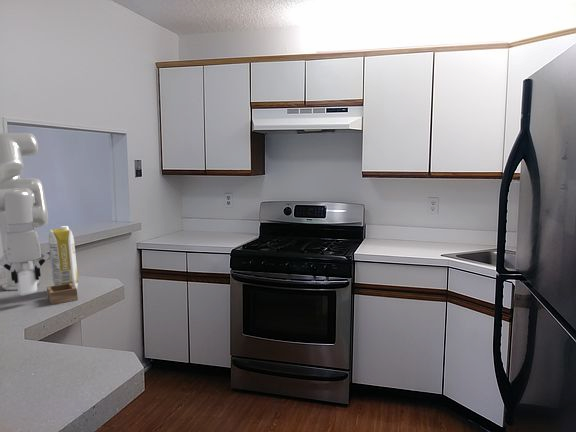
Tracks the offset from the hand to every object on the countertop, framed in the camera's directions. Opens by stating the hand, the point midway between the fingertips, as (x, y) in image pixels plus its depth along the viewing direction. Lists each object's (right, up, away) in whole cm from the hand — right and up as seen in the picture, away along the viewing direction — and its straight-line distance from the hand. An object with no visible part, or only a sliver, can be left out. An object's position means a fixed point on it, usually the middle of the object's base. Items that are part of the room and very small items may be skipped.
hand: (26, 280), depth 155 cm
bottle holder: (+10, -7, +5) cm, 13 cm away
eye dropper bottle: (0, -5, +1) cm, 5 cm away
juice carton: (+6, -6, +16) cm, 18 cm away
